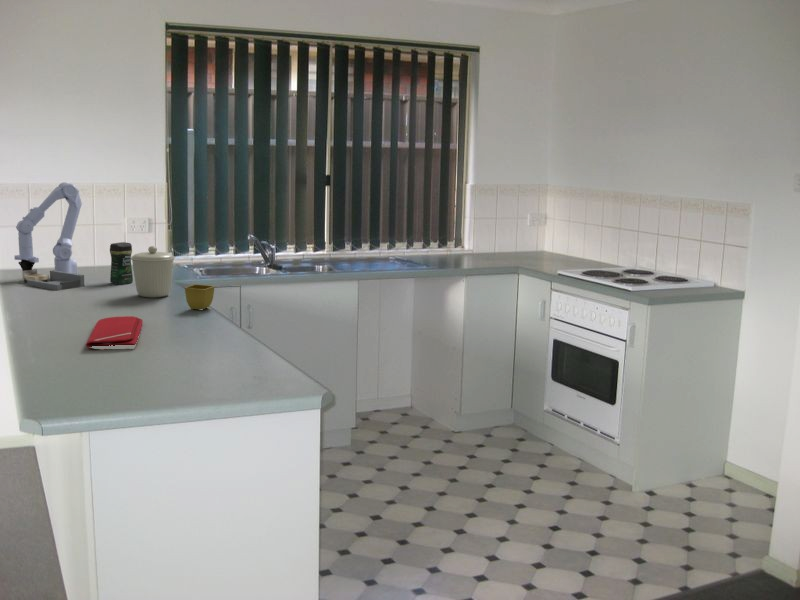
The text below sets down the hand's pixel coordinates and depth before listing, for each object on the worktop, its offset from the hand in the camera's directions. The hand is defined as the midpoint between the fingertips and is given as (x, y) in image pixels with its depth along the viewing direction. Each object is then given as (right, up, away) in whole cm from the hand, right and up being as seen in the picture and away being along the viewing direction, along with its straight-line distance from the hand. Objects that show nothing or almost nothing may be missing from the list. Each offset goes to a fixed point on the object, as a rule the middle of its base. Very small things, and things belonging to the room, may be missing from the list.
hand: (27, 276), depth 402 cm
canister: (+65, -9, -27) cm, 71 cm away
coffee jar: (+43, -3, +1) cm, 43 cm away
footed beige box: (+5, -3, -3) cm, 6 cm away
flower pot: (+90, -14, -52) cm, 105 cm away
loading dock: (+17, -5, -9) cm, 20 cm away
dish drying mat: (+72, -23, -100) cm, 126 cm away
